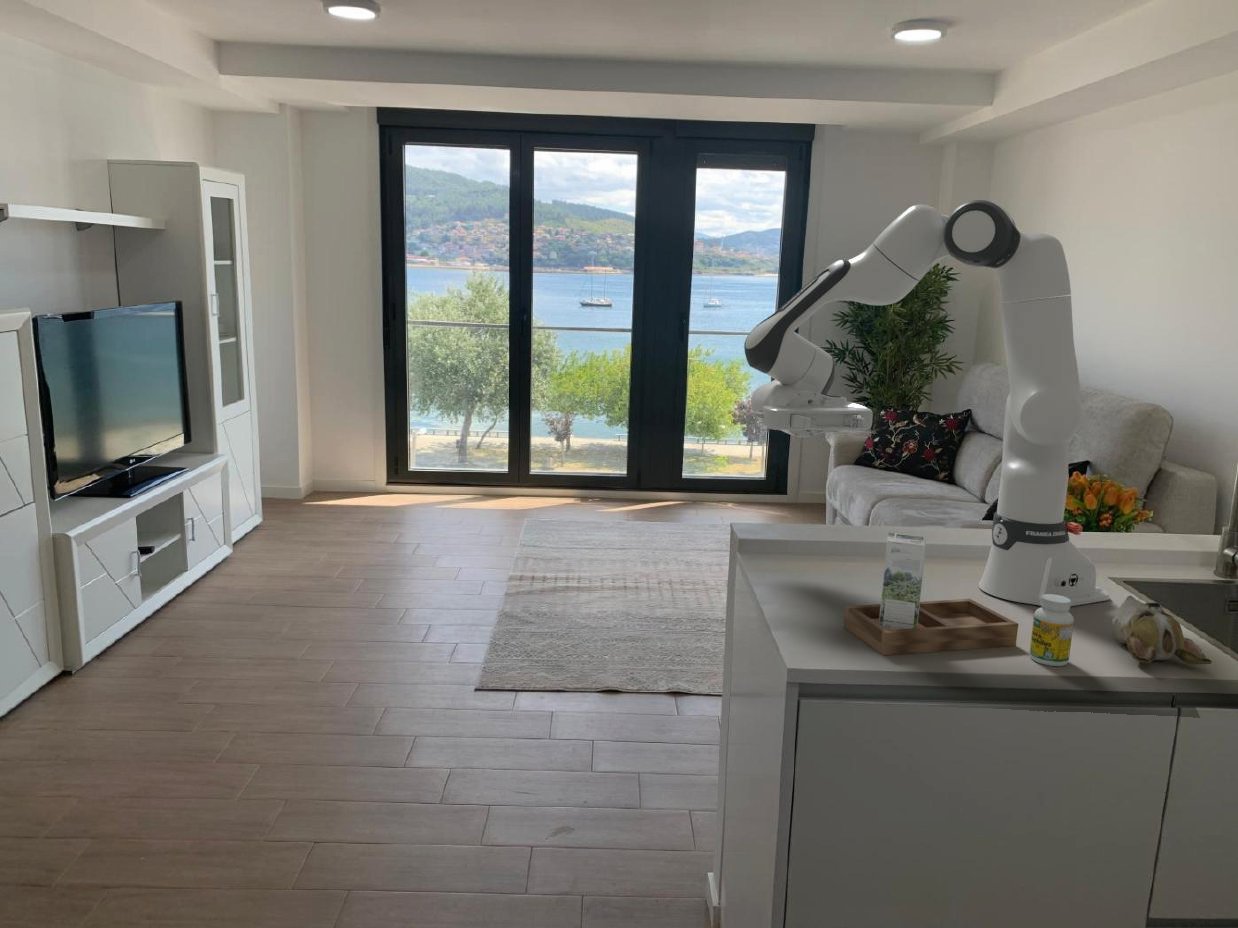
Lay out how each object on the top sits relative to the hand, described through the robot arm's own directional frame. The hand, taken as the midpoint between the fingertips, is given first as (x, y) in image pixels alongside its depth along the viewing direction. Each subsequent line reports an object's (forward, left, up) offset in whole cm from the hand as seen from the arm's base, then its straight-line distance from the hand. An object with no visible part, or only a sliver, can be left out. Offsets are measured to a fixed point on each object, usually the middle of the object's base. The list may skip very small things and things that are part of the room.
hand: (837, 424), depth 165 cm
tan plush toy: (-35, +38, -30) cm, 60 cm away
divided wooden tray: (-5, +24, -30) cm, 39 cm away
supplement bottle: (-18, +36, -30) cm, 50 cm away
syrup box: (0, +24, -28) cm, 37 cm away
